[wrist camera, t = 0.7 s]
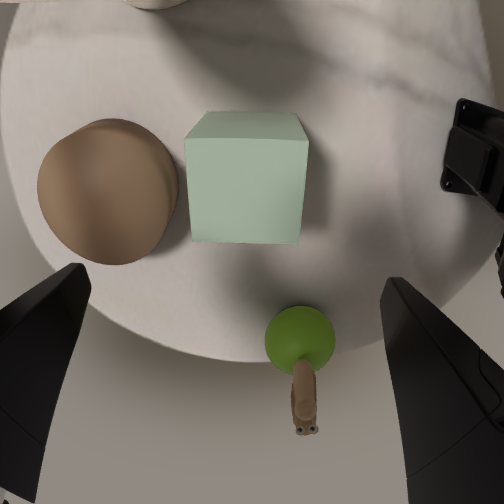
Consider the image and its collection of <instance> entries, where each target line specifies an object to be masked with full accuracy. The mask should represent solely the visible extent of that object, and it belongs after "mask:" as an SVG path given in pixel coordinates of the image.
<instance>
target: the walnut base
mask: <svg viewBox="0 0 504 504" xmlns="http://www.w3.org/2000/svg"><path fill="white" fill-rule="evenodd" d="M37 192H38V200H39V204H40V208H41V211H42V213H43V216H44V218H45V220H46V222H47V224H48V225H49V227H50V229H51V230H52V231H53V233H54V234H55V235H56V237H57V238H58V239H59V240H60V241H61V242H62V243H63V244H64V245H65V246H66V247H68V248H69V249H70V250H72V251H73V252H74V253H76V254H78V255H79V256H81V257H83V258H85V259H88V260H90V261H93V262H96V263H100V264H106V265H123V264H128V263H132V262H135V261H137V260H139V259H141V258H143V257H144V256H146V255H147V254H149V253H150V252H151V251H152V250H153V249H154V248H155V246H156V245H157V244H158V242H159V240H160V239H161V237H162V235H163V233H164V230H165V228H166V226H167V224H168V222H169V220H170V218H171V216H172V214H173V211H174V209H175V207H176V203H177V200H178V192H179V182H178V176H177V171H176V168H175V165H174V162H173V160H172V158H171V156H170V154H169V152H168V151H167V149H166V148H165V146H164V145H163V144H162V143H161V141H160V140H159V139H158V138H157V137H156V136H155V135H153V134H152V133H151V132H149V131H148V130H147V129H145V128H143V127H142V126H140V125H138V124H135V123H133V122H131V121H127V120H123V119H114V118H113V119H102V120H97V121H95V122H92V123H89V124H88V125H86V126H84V127H82V128H80V129H79V130H77V131H75V132H74V133H72V134H70V135H69V136H67V137H65V138H64V139H62V140H60V141H59V142H58V143H56V144H55V145H54V146H53V147H52V148H51V149H50V150H49V152H48V153H47V155H46V156H45V158H44V159H43V162H42V164H41V167H40V170H39V174H38V181H37Z"/></svg>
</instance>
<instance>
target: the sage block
mask: <svg viewBox="0 0 504 504" xmlns="http://www.w3.org/2000/svg"><path fill="white" fill-rule="evenodd" d="M184 145H185V161H186V175H187V188H188V200H189V212H190V223H191V233H192V242H225V243H256V244H286V245H299V236H300V228H301V218H302V209H303V200H304V190H305V179H306V169H307V158H308V146H309V140H308V138H307V136H306V134H305V132H304V130H303V128H302V126H301V124H300V122H299V120H298V118H297V116H296V114H295V113H281V112H253V111H207V113H206V114H205V115H204V116H203V117H202V118H201V119H200V121H199V122H198V123H197V124H196V125H195V126H194V128H193V129H192V130H191V131H190V132H189V133H188V135H187V136H186V137H185V138H184Z"/></svg>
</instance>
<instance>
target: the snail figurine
mask: <svg viewBox="0 0 504 504" xmlns="http://www.w3.org/2000/svg"><path fill="white" fill-rule="evenodd" d="M334 347H335V333H334V329H333V327H332V324H331V323H330V321H329V320H328V318H327V317H326V316H325V315H324V314H323V313H321V312H320V311H318V310H316V309H314V308H312V307H308V306H293V307H290V308H287V309H285V310H283V311H281V312H280V313H278V314H277V315H276V316H275V317H274V318H273V319H272V320H271V322H270V324H269V325H268V327H267V330H266V334H265V349H266V352H267V355H268V357H269V359H270V360H271V362H272V363H273V364H274V365H275V366H276V367H277V368H278V369H280V370H281V371H283V372H285V373H288V374H292V375H294V378H293V384H292V391H291V407H292V415H293V423H294V424H295V426H296V433H297V434H298V435H309V434H316V433H317V432H318V427H317V426H316V411H317V405H316V377H315V374H314V372H315V371H317V370H319V369H320V368H322V367H323V366H324V365H325V364H326V363H327V362H328V360H329V359H330V357H331V355H332V353H333V350H334Z"/></svg>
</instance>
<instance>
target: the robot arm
mask: <svg viewBox="0 0 504 504" xmlns="http://www.w3.org/2000/svg"><path fill="white" fill-rule="evenodd" d="M464 104H466V107H465V109H463V105H464ZM448 181H449V184H448V185H446V184H447V182H448ZM441 187H442V188H443V189H444V190H445V191H449V192H456V193H463V194H469V195H475V196H479V197H480V198H481V199H482V200H483V201H485V202H486V203H487V204H488V205H489V206H490V207H491V208H492V209H493V210H494V211H495V212H496V213H497V214H498V215H499V216H500V217H501V218H502V219H503V220H504V112H503V111H500V110H497V109H495V108H492V107H489V106H486V105H483V104H480V103H477V102H474V101H471V100H468V99H465V98H461V99H459V100H458V102H457V107H456V113H455V119H454V124H453V128H452V130H451V135H450V140H449V145H448V149H447V154H446V158H445V166H444V171H443V175H442V179H441ZM495 258H496V261H497V264H498V267H499V269H498V274H499V278H500V282H501V285H502V289H501V294H502V296H503V298H504V234H503V237H502V240H501V243H500V246H499V247H498V248H497V250H496V253H495ZM90 293H91V282H90V279H89V277H88V274H87V271H86V268H85V266H84V265H83V264H82V263H70V264H69V265H67V266H65V267H64V268H62V269H61V270H59V271H57V272H56V273H55V274H53V275H51V276H50V277H48V278H47V279H45V280H44V281H42V282H40V283H39V284H37V285H36V286H35V287H33V288H32V289H30V290H29V291H27V292H25V293H24V294H23V295H21V296H20V297H18V298H17V299H15V300H14V301H12V302H11V303H10V304H8V305H7V306H5V307H4V308H2V309H1V310H0V504H9V503H8V501H7V500H5V499H4V498H5V494H6V491H9V492H11V493H13V494H15V495H17V496H19V497H21V498H23V499H25V500H27V501H29V502H31V503H35V499H36V493H37V487H38V482H39V476H40V471H41V466H42V461H43V456H44V452H45V446H46V442H47V438H48V434H49V430H50V426H51V422H52V418H53V415H54V411H55V407H56V404H57V400H58V397H59V394H60V390H61V387H62V383H63V380H64V377H65V374H66V371H67V368H68V365H69V362H70V359H71V356H72V353H73V350H74V347H75V344H76V341H77V339H78V336H79V333H80V329H81V326H82V322H83V318H84V314H85V311H86V307H87V304H88V300H89V297H90ZM380 309H381V317H382V325H383V333H384V342H385V350H386V355H387V360H388V365H389V370H390V375H391V380H392V385H393V390H394V395H395V400H396V407H397V413H398V419H399V425H400V431H401V438H402V445H403V453H404V460H405V469H406V478H408V479H407V488H408V501H409V504H504V370H503V369H502V368H501V367H500V366H499V365H498V364H497V363H496V362H494V361H493V360H492V359H491V358H490V357H489V356H488V355H487V354H486V353H485V352H484V351H483V350H482V349H480V348H479V346H478V345H477V344H476V343H475V342H474V341H473V340H472V339H470V337H468V336H467V335H466V334H465V333H464V332H463V331H462V330H461V329H460V328H459V327H458V326H457V325H456V324H454V323H453V322H452V321H451V320H450V319H449V318H448V317H447V316H446V315H445V314H444V313H442V312H441V311H440V310H439V309H438V308H437V307H436V306H435V305H434V304H432V303H431V302H430V301H429V300H428V299H427V298H426V297H424V296H423V295H422V294H421V293H420V292H419V291H418V290H416V289H415V288H414V287H413V286H412V285H411V284H409V283H408V282H407V281H406V280H405V279H404V278H402V277H389V278H388V279H387V281H386V284H385V287H384V290H383V293H382V295H381V299H380Z"/></svg>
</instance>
